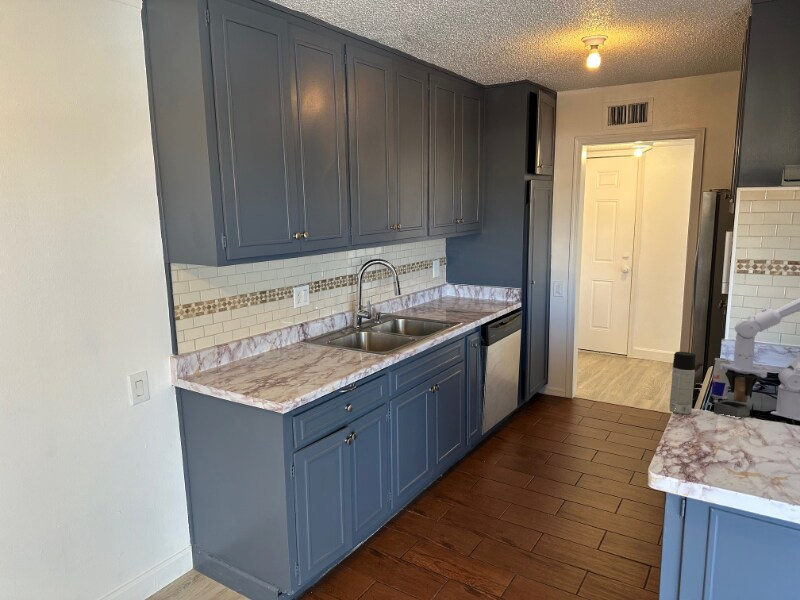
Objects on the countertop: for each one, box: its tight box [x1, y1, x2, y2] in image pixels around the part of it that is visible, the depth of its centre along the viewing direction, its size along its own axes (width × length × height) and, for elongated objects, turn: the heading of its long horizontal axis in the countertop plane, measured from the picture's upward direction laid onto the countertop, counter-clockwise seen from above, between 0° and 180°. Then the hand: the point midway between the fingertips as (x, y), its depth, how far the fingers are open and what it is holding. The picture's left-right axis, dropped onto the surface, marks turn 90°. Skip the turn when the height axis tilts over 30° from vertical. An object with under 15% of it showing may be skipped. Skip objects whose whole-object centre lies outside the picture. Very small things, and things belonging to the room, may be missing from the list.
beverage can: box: [711, 357, 731, 400], centre depth 206 cm, size 5×5×15 cm
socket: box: [713, 399, 751, 418], centre depth 186 cm, size 8×8×4 cm
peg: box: [733, 376, 748, 403], centre depth 192 cm, size 4×4×8 cm
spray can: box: [669, 351, 697, 415], centre depth 187 cm, size 7×7×20 cm
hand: (740, 393), depth 192 cm, fingers closed on peg, 4 cm apart
